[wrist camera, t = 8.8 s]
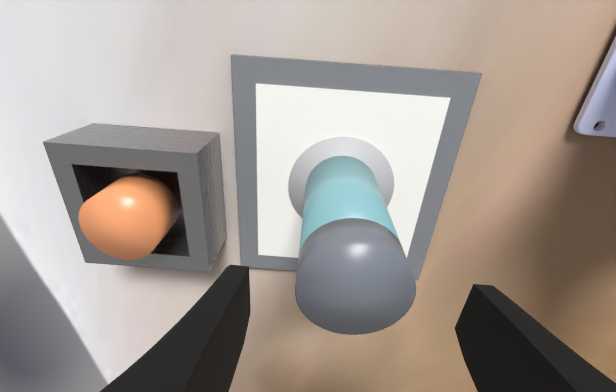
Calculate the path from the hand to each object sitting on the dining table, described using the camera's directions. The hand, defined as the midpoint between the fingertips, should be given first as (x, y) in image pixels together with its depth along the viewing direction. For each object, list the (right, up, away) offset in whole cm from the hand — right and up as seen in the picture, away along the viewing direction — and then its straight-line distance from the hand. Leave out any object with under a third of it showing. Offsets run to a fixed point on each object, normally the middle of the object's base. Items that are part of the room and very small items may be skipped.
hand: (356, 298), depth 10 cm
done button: (-10, +3, +6) cm, 12 cm away
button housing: (-10, +4, +8) cm, 14 cm away
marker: (0, +4, +7) cm, 8 cm away
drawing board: (0, +4, +8) cm, 9 cm away
